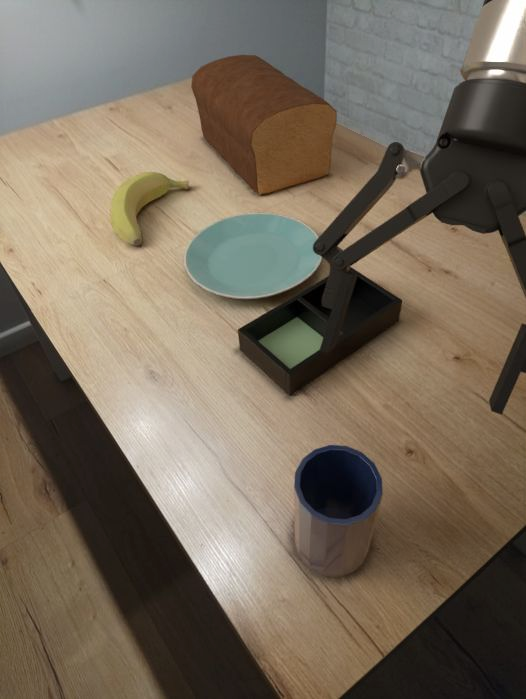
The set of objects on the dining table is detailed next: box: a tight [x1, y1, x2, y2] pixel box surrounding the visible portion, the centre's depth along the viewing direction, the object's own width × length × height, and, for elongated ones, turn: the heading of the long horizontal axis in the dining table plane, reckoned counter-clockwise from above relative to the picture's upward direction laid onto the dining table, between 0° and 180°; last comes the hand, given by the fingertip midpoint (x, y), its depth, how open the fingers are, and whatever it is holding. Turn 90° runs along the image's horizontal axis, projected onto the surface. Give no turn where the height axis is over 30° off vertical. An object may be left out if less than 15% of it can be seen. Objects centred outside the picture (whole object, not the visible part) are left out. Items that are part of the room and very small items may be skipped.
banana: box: [110, 171, 190, 247], centre depth 95 cm, size 14×6×20 cm
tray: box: [237, 266, 404, 397], centre depth 71 cm, size 11×20×4 cm, turn 129°
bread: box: [190, 54, 338, 195], centre depth 103 cm, size 18×30×16 cm, turn 26°
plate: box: [183, 212, 323, 300], centre depth 83 cm, size 22×22×3 cm
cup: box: [293, 444, 384, 578], centre depth 48 cm, size 7×7×12 cm
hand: (407, 377), depth 41 cm, fingers open, 13 cm apart
